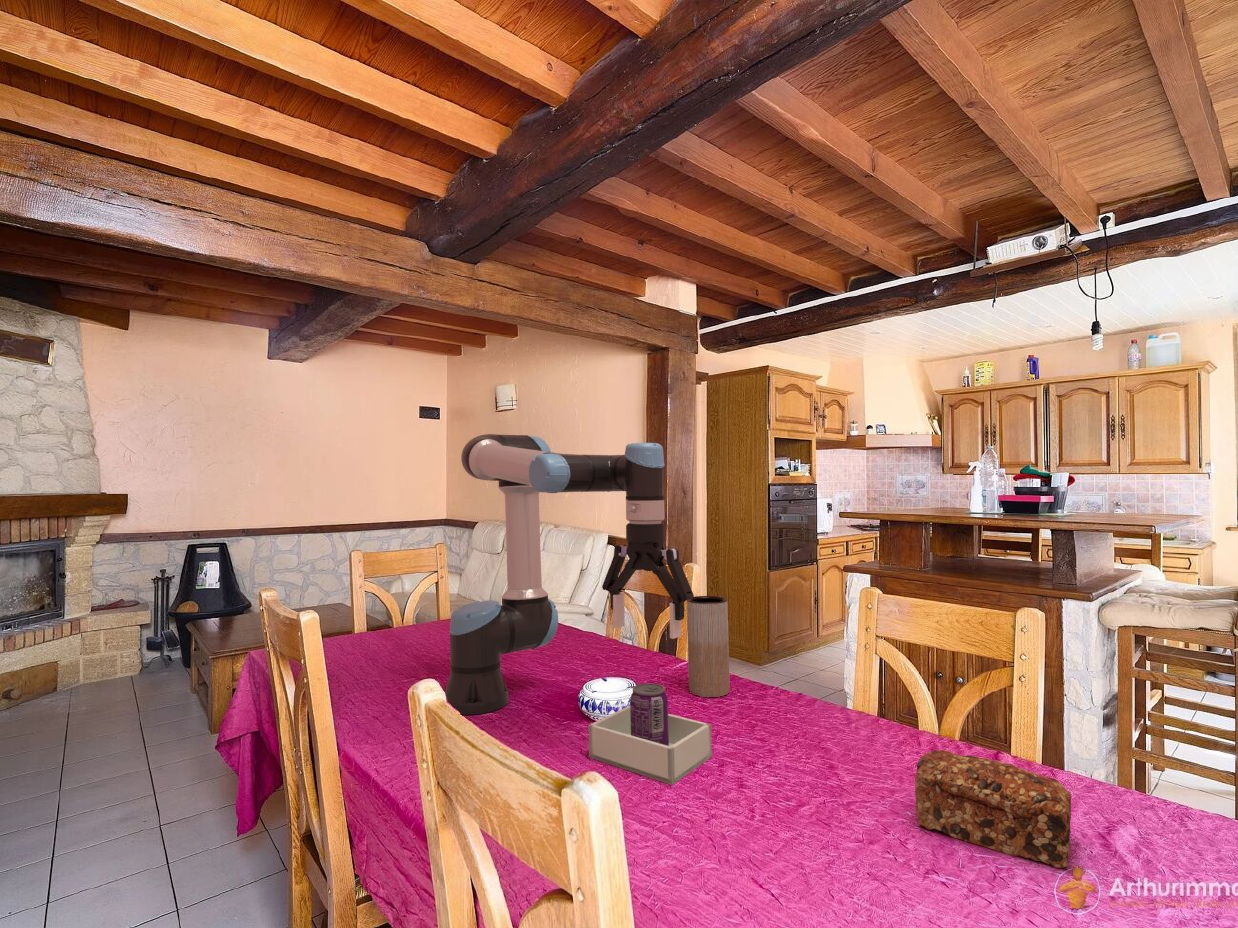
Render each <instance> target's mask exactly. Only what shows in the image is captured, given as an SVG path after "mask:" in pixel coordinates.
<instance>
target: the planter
mask: <svg viewBox="0 0 1238 928" xmlns="http://www.w3.org/2000/svg"><path fill="white" fill-rule="evenodd" d="M728 605H729V603H728V599H727V598H726V597H724V596H723V597H722V596H716V595H699V596H698V595H696V596H694V597H693V599H690V600H686V622H687V628H686V629H687V659H688V660H687V661H688V662H687V663H688V664H687V665H688V671H687V672H688V691H690V692H691V693H693V694H695V695H698V696H702V697H701V698H703V697H719V698H721V697H720V696H723V697H725V696H724V695H726V694H727V695H729V694H730V687H731V685H730V653H729V652H730V651H729V649H730V646H729V641H730V640H729V610H728V609H729V606H728ZM690 692H689V693H690ZM691 693H690V694H691ZM728 693H729V694H728ZM693 694H692V695H693ZM695 695H694V696H695ZM727 695H726V696H727ZM698 696H697V697H698Z"/></svg>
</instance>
